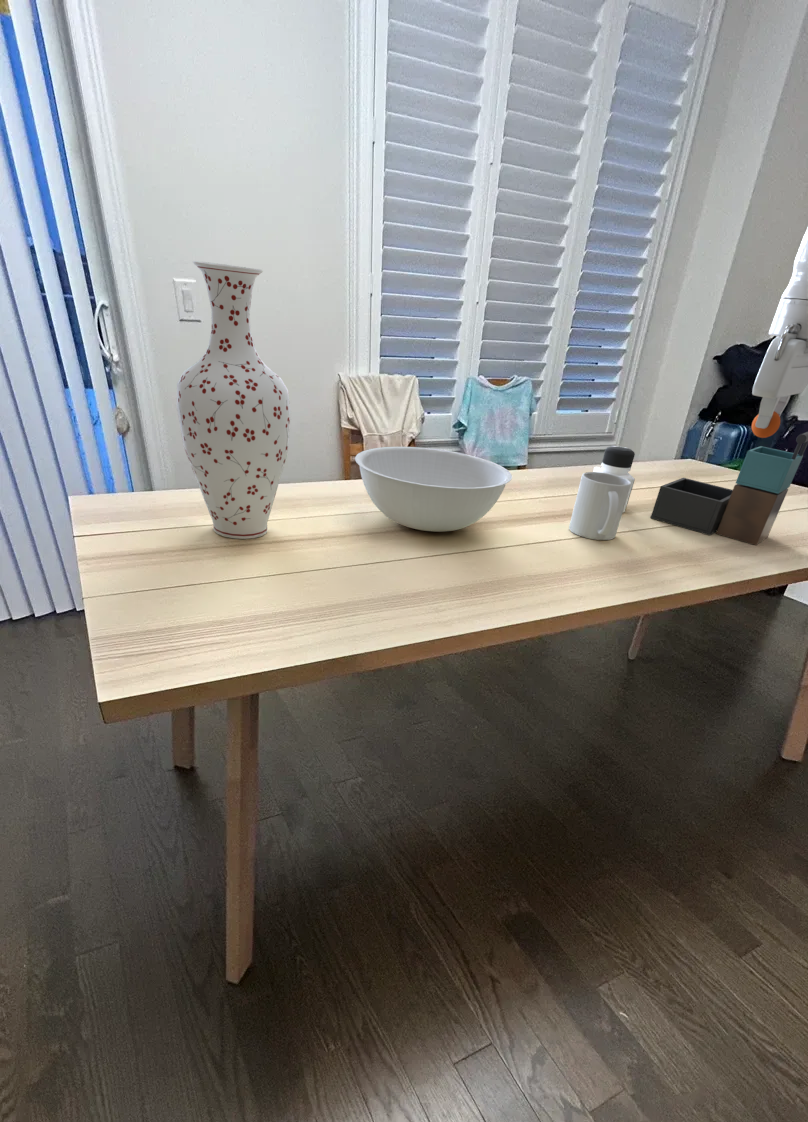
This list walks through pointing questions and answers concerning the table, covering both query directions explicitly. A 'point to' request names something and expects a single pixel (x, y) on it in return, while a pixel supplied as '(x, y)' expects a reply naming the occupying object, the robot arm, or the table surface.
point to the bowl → (431, 486)
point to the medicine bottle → (618, 464)
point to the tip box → (771, 467)
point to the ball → (769, 430)
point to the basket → (691, 505)
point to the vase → (234, 412)
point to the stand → (750, 514)
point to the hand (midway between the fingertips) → (765, 426)
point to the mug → (599, 505)
